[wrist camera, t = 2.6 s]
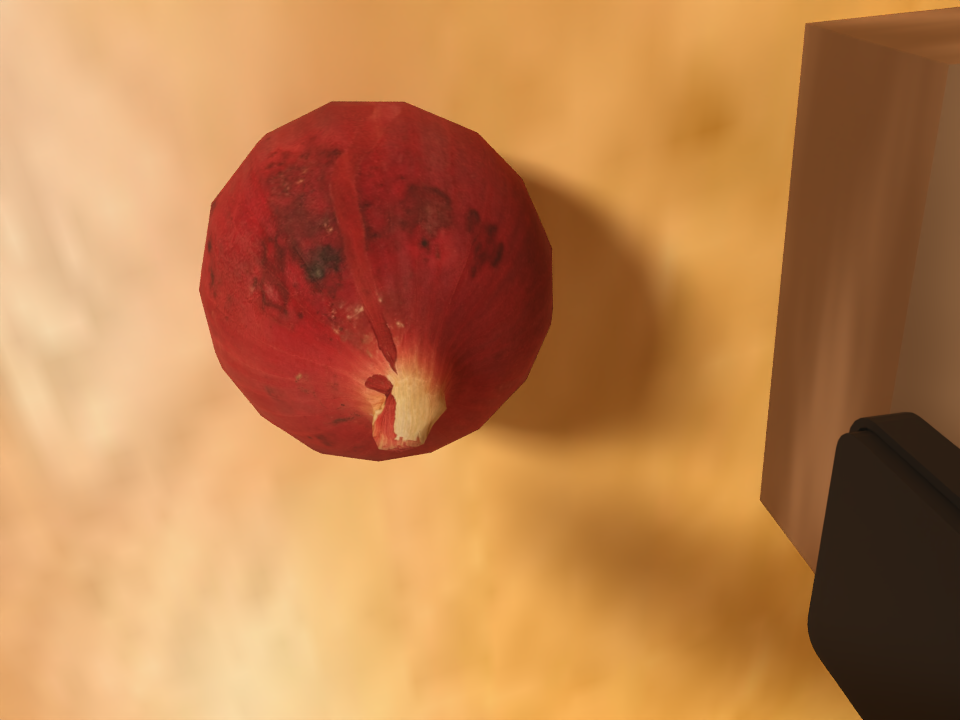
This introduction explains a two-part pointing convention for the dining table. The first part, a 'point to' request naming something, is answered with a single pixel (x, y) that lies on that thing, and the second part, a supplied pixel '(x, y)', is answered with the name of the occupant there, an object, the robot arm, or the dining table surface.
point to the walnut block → (866, 252)
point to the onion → (376, 280)
